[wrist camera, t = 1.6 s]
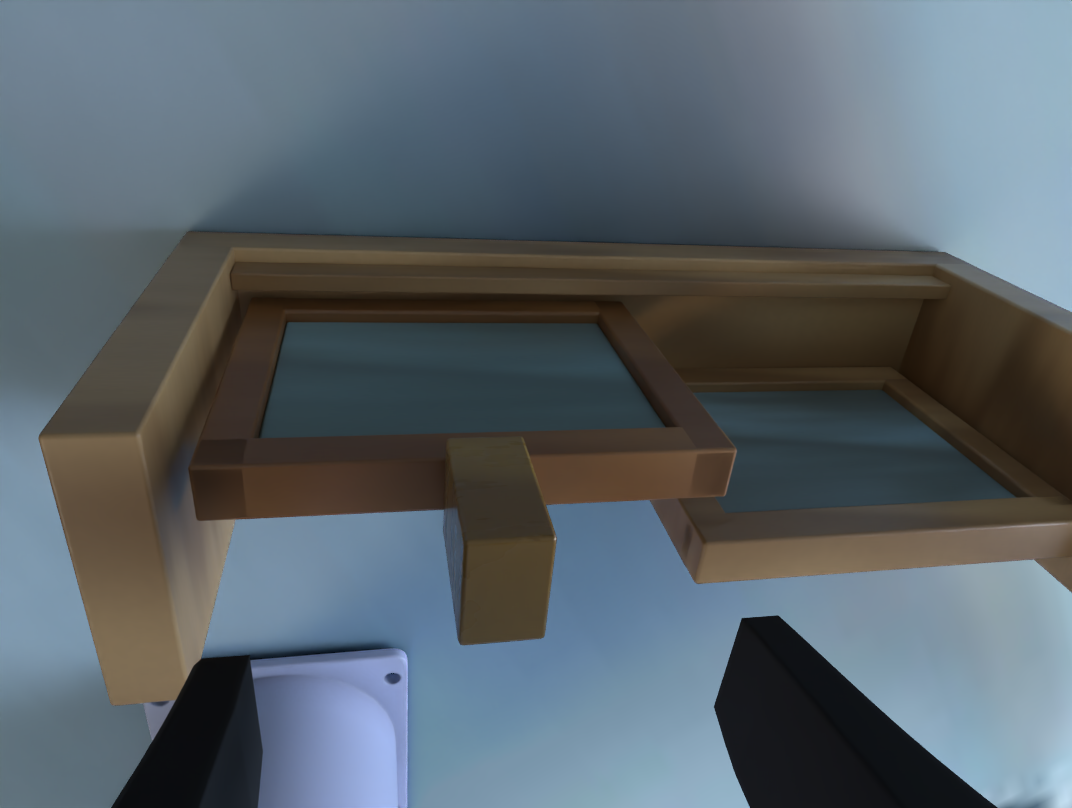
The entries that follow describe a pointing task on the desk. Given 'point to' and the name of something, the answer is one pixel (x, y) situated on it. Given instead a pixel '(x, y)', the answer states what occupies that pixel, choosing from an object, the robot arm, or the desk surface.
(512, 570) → the sash
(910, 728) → the desk surface
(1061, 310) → the window frame
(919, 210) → the desk surface
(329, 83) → the desk surface
